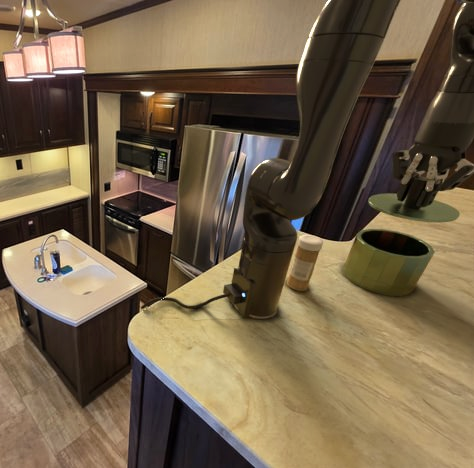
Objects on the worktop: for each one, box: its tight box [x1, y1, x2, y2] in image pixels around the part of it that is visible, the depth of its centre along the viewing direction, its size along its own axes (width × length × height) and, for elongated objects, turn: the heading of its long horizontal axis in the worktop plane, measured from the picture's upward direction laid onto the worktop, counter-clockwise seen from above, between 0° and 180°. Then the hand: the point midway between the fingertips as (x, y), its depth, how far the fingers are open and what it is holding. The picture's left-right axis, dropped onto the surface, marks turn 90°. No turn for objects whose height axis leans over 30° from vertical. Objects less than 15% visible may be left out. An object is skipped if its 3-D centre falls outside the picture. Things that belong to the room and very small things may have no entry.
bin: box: [342, 228, 436, 297], centre depth 69 cm, size 13×13×10 cm
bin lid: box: [367, 176, 461, 224], centre depth 61 cm, size 14×14×7 cm
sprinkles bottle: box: [286, 234, 324, 292], centre depth 68 cm, size 5×5×13 cm
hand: (411, 203), depth 62 cm, fingers closed on bin lid, 3 cm apart
